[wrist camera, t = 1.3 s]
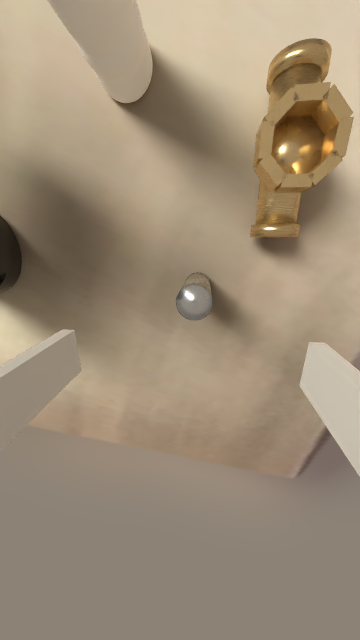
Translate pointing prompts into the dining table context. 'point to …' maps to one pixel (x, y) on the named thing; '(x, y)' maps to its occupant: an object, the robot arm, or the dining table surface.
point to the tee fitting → (297, 135)
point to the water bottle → (110, 43)
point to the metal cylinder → (195, 297)
